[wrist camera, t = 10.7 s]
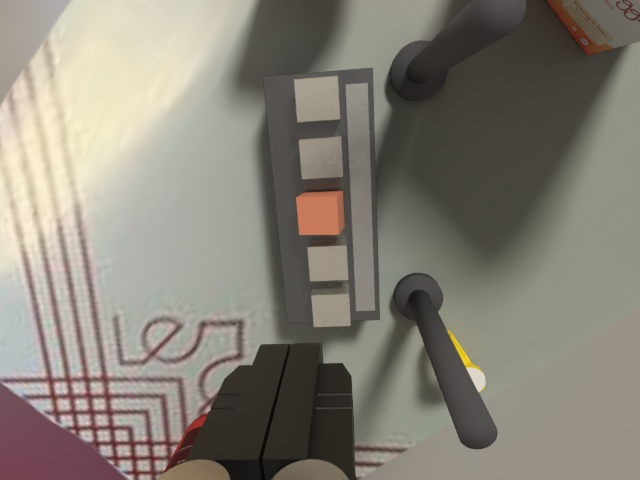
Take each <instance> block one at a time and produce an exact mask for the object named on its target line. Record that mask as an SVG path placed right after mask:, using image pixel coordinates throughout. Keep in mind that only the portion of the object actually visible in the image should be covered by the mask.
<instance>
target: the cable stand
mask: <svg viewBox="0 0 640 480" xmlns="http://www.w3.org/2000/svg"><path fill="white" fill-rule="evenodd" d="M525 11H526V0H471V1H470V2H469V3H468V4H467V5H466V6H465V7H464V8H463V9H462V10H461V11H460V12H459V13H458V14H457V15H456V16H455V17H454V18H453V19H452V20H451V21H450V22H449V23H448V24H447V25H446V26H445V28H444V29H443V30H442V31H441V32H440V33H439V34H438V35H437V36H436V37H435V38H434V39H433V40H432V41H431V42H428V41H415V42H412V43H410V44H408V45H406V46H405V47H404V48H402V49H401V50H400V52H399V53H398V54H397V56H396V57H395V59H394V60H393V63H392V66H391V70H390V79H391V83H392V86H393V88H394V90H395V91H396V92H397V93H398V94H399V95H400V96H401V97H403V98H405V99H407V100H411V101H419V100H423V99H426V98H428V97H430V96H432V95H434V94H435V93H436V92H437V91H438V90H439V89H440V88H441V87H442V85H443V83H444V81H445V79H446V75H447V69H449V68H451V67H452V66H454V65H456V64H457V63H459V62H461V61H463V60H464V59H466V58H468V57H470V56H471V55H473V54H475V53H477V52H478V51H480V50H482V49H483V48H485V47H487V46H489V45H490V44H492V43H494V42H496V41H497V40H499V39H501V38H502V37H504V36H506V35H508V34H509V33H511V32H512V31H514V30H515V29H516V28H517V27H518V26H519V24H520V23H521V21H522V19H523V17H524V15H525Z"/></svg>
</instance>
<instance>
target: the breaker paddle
mask: <svg viewBox="0 0 640 480" xmlns="http://www.w3.org/2000/svg"><path fill="white" fill-rule="evenodd" d="M296 202H297V214H298V226H299V235H339V234H340V233H341V231H342V230H343V228H344V227H345V222H344V202H343V191H325V192H304V193H303V194H301V195H300V196H298V197H296Z"/></svg>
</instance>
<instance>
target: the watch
mask: <svg viewBox="0 0 640 480" xmlns="http://www.w3.org/2000/svg"><path fill="white" fill-rule="evenodd" d="M446 330H447V332H448V333H449V335H450V337H451V339H452V341H453V343H454V345H455V347H456V349H457V351H458V353H459V355H460V357H461V359H462V361H463V363H464V365H465V367H466V369H467V371H468V373H469V375H470V377H471V379H472V381H473V383H474V385H475V387H476V389H477V391H478V393H479V392H481V391H483V390H484V389H485V376H484V374H483V372H482V370H481V369H480V368H479V367H478V366H476V365H474V364H472V363H471V361H470V360H469V358H468V357H467V355H466V353H465V352H464V351H463V349H462V348H461V346H460V345H459V343H458V342H457V341H456V339H455V338H454V336H453V335H452V333H451V332H450V331H449V330H448V329H446Z"/></svg>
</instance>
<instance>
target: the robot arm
mask: <svg viewBox="0 0 640 480" xmlns="http://www.w3.org/2000/svg"><path fill="white" fill-rule="evenodd" d="M156 480H357V479H356V476H355V442H354V417H353V398H352V379H351V375H350V374H349V372H348V371H347V369H346V368H345V366H344V365H343V363H328V364H323V352H322V345H321V343H296V344H292V345H291V344H262V345H261V346H260V347H259V350H258V352H257V355H256V357H255V360H254V362H253V365H241V366H238V367H237V368H236V369H235V370H234V371H233V372H232V373H231V374H230V375H228V376H227V377H226V378H225V379H224V381H223V383H222V386H221V388H220V390H219V392H218V394H217V398H215V400H214V402H213V404H212V406H211V411H209V412H208V414H207V417H206V419H205V421H204V423H203V425H202V427H201V429H200V431H199V433H198V435H197V437H196V439H195V441H194V443H193V445H192V447H191V450H190V452H189V454H188V456H187V458H186V460H185V462H184V463H182V464H179V465H177V466H175V467H173V468H171V469H169V470H168V471H167V472H165V473H164V474H162V475H161V476H160V477H159V478H158V479H156Z"/></svg>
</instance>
